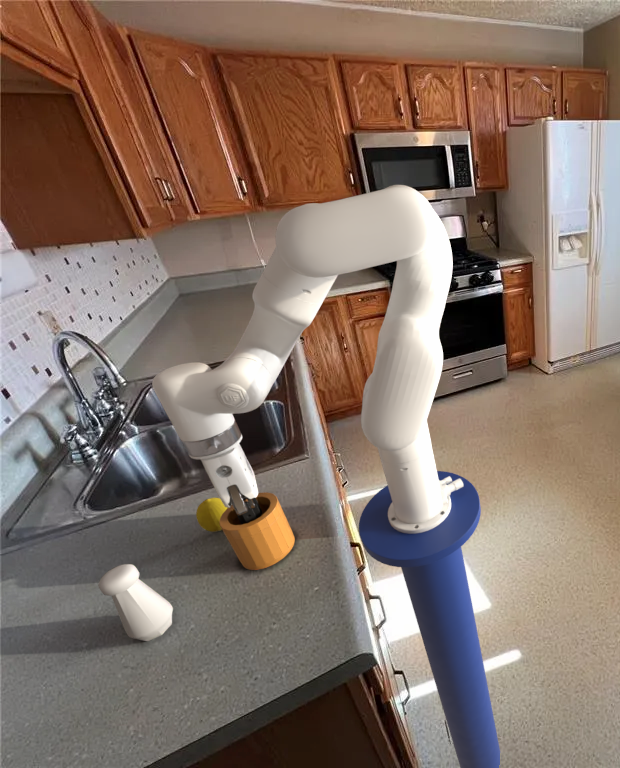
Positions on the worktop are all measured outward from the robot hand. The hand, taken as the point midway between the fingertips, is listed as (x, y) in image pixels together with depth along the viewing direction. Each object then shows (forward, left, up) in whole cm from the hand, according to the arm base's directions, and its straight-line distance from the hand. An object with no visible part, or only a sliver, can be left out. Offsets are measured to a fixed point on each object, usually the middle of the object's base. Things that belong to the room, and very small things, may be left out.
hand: (253, 520), depth 75 cm
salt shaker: (+17, +6, -8) cm, 19 cm away
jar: (0, 0, -8) cm, 8 cm away
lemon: (+7, -12, -8) cm, 16 cm away
